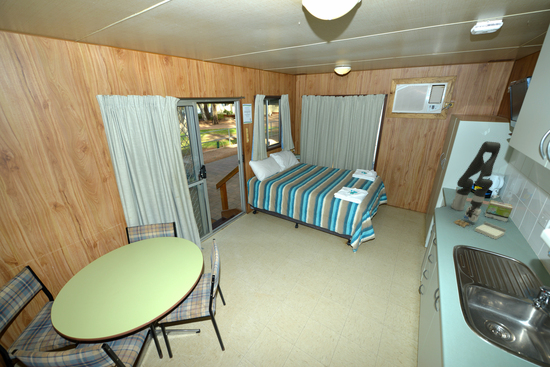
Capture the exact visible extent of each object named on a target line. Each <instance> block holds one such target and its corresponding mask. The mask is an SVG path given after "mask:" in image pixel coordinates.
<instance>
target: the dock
mask: <svg viewBox="0 0 550 367" xmlns="http://www.w3.org/2000/svg"><path fill="white" fill-rule="evenodd" d="M474 231H475V232H477V233H479V234H481V233H482V234H481V235H484V234H485V235H484V236H486V235H487V236H486V237H488V236H489V238H491V237H492V238H491V239H493V238H494V239H493V240H497V239H499V238H501V237H502V236H504V235H505V233H506V231H507V228H504V227H501V226H499V225H495V224H493V223H491V222H487V221H484V222H483V224H481V225H478V226H477V227H475V229H474Z"/></svg>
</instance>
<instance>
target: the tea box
mask: <svg viewBox="0 0 550 367" xmlns="http://www.w3.org/2000/svg"><path fill="white" fill-rule="evenodd" d="M512 211H513V204H510V203H506V202H501V201H497V200H491V199H490V200H489V203H488V205H487V207H486V209H485V212H484V217H485V216H486V218H490V219H494V220H497V221H498V220H499V221H502V222H505V223H507V222H508V220H509V217H510V215H511V213H512Z"/></svg>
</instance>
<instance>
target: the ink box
mask: <svg viewBox="0 0 550 367" xmlns="http://www.w3.org/2000/svg"><path fill="white" fill-rule="evenodd" d="M471 206H472V205H469V206H467V208H466V210H465V212H464V213H465V214H464V215H463V218H464V219H466V220H469V221H471V222H474V223H475V222H477V221H478V219H479V217H480V214H481V213H482V209H481V208H478V209H474V210H475V211H474V210H473V211H474V212H473V214H472V217H471V218H470V217H468V215H469V213H468V210H469V208H471Z"/></svg>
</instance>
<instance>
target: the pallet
mask: <svg viewBox="0 0 550 367" xmlns="http://www.w3.org/2000/svg"><path fill="white" fill-rule="evenodd" d="M453 223H454V225H455V224H456V225H458V226H460V227H462V228H465V227H466V226H469V225H470V222H467V221H465V220H462V219H459V218H458V219H457V220H454V222H453Z"/></svg>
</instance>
